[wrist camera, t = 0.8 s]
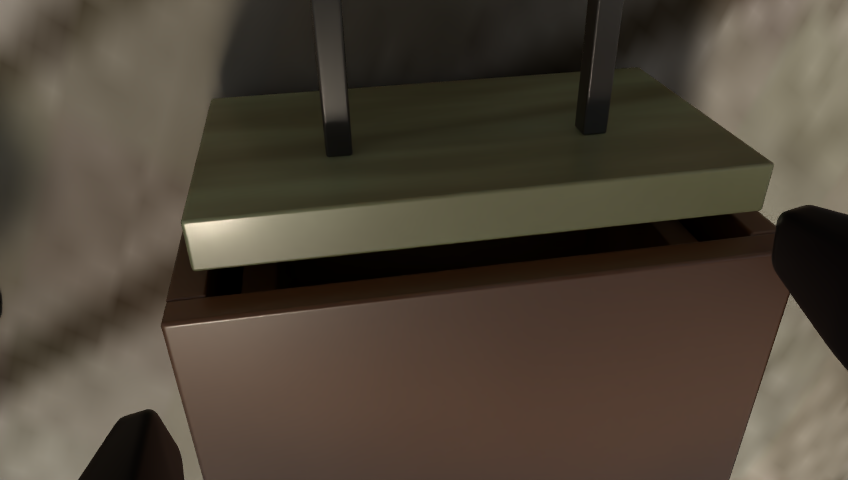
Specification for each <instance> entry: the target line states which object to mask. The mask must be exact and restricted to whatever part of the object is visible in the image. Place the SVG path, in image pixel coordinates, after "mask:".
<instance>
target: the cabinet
mask: <svg viewBox="0 0 848 480" xmlns="http://www.w3.org/2000/svg"><path fill="white" fill-rule="evenodd" d="M677 220H678V221H679V222H680V223H681V224H682V225H683V226H684V227H685V228H686V229H687V230H688V231H689V232H690V233H691V234H692V235H693V236H694V237H695V238H696V239H697V241H698V242H693V243H684V244H675V245H667V246H658V247H649V248H640V249H631V250H622V251H613V252H604V253H596V254H587V255H578V256H569V257H560V258H551V259H542V260H533V261H525V262H516V263H507V264H498V265H489V266H480V267H471V268H462V269H453V270H445V271H436V272H427V273H418V274H409V275H400V276H391V277H382V278H374V279H365V280H356V281H347V282H338V283H329V284H320V285H311V286H303V287H294V288H285V289H276V290H267V291H258V292H249V293H241V286H242V274H243V266H239V267H230V268H221V269H211V270H202V271H193V270H192V268H191V265H190V260H189V256H188V252H187V247H186V243H185V239H184V235H183V232H182V236H181V240H180V244H179V249H178V253H177V257H176V261H175V265H174V270H173V274H172V278H171V282H170V286H169V291H168V295H167V299H166V302H167V303H166V306H165V310H164V315H163V319H162V323H161V328H162V331H163V335H164V339H165V342H166V346H167V349H168V353H169V357H170V360H171V364H172V368H173V371H174V375H175V378H176V382H177V386H178V389H179V393H180V396H181V400H182V404H183V407H184V411H185V414H186V418H187V422H188V425H189V429H190V433H191V436H192V440H193V443H194V447H195V451H196V454H197V458H198V461H199V465H200V469H201V472H202V476H203V480H729V479H730V476H731V473H732V469H733V466H734V463H735V460H736V457H737V454H738V451H739V448H740V445H741V442H742V439H743V436H744V433H745V430H746V426H747V423H748V420H749V417H750V414H751V411H752V408H753V405H754V402H755V399H756V396H757V393H758V390H759V387H760V384H761V380H762V377H763V374H764V371H765V368H766V365H767V362H768V359H769V356H770V353H771V350H772V347H773V344H774V341H775V337H776V334H777V331H778V328H779V325H780V322H781V319H782V316H783V313H784V310H785V307H786V304H787V301H788V298H789V295H790V292H789V291H788V289H787V288H786V287H785V285H784V284H783V282H782V281H781V280H780V278H779V277H778V275H777V274H776V272H775V270H774V268H773V264H772V258H771V257H772V249H773V243H774V237H775V231H776V226H775V225H774V224H773V223H772V222H770V221H769V220H768V219H767V218H766V217H764V216H763V215H762V214H761V213H760V212H758V211H752V212H742V213H733V214H724V215H714V216H705V217H696V218H686V219H677Z"/></svg>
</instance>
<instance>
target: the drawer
mask: <svg viewBox="0 0 848 480" xmlns="http://www.w3.org/2000/svg"><path fill="white" fill-rule="evenodd" d="M310 2H311V12H312V22H313V32H314V42H315V52H316V62H317V72H318V82H319V91H311V92H298V93H284V94H271V95H257V96H244V97H230V98H217V99H212V100H211V103H210V107H209V111H208V115H207V119H206V123H205V127H204V131H203V135H202V139H201V143H200V147H199V151H198V155H197V159H196V163H195V167H194V171H193V175H192V179H191V183H190V188H189V192H188V196H187V200H186V204H185V208H184V212H183V216H182V220H181V226H182V230H183V235H184V239H185V243H186V247H187V252H188V256H189V260H190V265H191V268H192V270H193V271H202V270H211V269H221V268H230V267H239V266H243V274H242V286H241V293H249V292H258V291H267V290H276V289H285V288H294V287H303V286H311V285H320V284H329V283H338V282H347V281H356V280H365V279H374V278H382V277H391V276H400V275H409V274H418V273H427V272H436V271H445V270H453V269H462V268H471V267H480V266H489V265H498V264H507V263H516V262H525V261H533V260H542V259H551V258H560V257H569V256H578V255H587V254H596V253H604V252H613V251H622V250H631V249H640V248H649V247H658V246H667V245H675V244H684V243H693V242H698V241H697V239H696V238H695V237H694V236H693V235H692V234H691V233H690V232H689V231H688V230H687V229H686V228H685V227H684V226H683V225H682V224H681V223H680V222H679V221H678V220H677V219H686V218H696V217H705V216H714V215H724V214H733V213H742V212H752V211H759V210H761V209H762V207H763V203H764V199H765V196H766V192H767V188H768V185H769V181H770V178H771V174H772V170H773V167H774V164H773V162H771V161H770V160H768V159H767V158H765V157H764V156H763V155H761V154H760V153H758V152H757V151H756V150H754V149H753V148H751V147H750V146H749V145H747V144H746V143H744V142H743V141H742V140H740V139H739V138H737V137H736V136H734V135H733V134H732V133H730V132H729V131H727V130H726V129H725V128H723V127H722V126H720V125H719V124H718V123H716V122H715V121H713V120H712V119H711V118H709V117H708V116H706V115H705V114H703V113H702V112H701V111H699V110H698V109H696V108H695V107H694V106H692V105H691V104H689V103H688V102H687V101H685V100H684V99H682V98H681V97H679V96H678V95H677V94H675V93H674V92H672V91H671V90H670V89H668V88H667V87H665V86H664V85H663V84H661V83H660V82H658V81H657V80H656V79H654V78H653V77H651V76H650V75H648V74H647V73H646V72H644V71H643V70H641V69H640V68H638V67H635V68H622V69H615V63H616V56H617V48H618V40H619V33H620V25H621V18H622V10H623V3H624V0H588V6H587V15H586V25H585V34H584V43H583V53H582V62H581V72H568V73H554V74H541V75H527V76H514V77H500V78H487V79H473V80H460V81H446V82H433V83H419V84H406V85H392V86H379V87H365V88H352V89H348V83H347V70H346V57H345V44H344V31H343V18H342V5H341V0H310Z"/></svg>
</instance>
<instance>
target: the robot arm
mask: <svg viewBox="0 0 848 480" xmlns="http://www.w3.org/2000/svg"><path fill="white" fill-rule="evenodd" d="M771 258H772V264H773V268H774V270H775V272H776V274H777V275H778V277H779V278H780V280H781V281H782V282H783V284H784V285H785V287H786V288H787V289H788V291H789V292H790V294H791V295H792V296H793V298H794V299H795V301H796V302H797V304H798V305H799V306H800V308H801V309H802V311H803V312H804V313H805V315H806V316H807V318H808V319H809V320H810V322H811V323H812V325H813V326H814V328H815V329H816V330H817V332H818V333H819V335H820V336H821V337H822V339H823V340H824V342H825V343H826V344H827V346H828V347H829V348H830V350H831V351H832V352H833V353H834V355H835V356H836V357H837V358H838V360H839V361H840V362H841V363H842V364H843V366H844V367H845V368H846V369H847V370H848V215H847V214H843V213H839V212H836V211H832V210H828V209H825V208H821V207H817V206H813V205H805V206H801V207H798V208H794V209H791V210H788V211H785V212H783V213H782V214H781V215H780V216H779V218H778V220H777V225H776V231H775V237H774V243H773V249H772V257H771ZM78 480H184V473H183V464H182V458H181V454H180V451H179V449H178V446H177V444H176V443H175V441H174V440H173V438H172V436H171V435H170V433H169V432H168V430H167V428H166V427H165V425H164V424H163V422H162V420H161V419H160V417H159V416H158V414H157V413H156V412H155V411H153V410H151V409H146V410H143V411H140V412H136V413H133V414H130V415H127V416H124V417H122V418H120V419H119V420H118V421H117V423H116V424H115V425H114V427H113V428H112V430H111V431H110V433H109V434H108V436H107V437H106V439H105V440H104V442H103V443H102V445H101V446H100V448H99V449H98V451H97V452H96V454H95V455H94V457H93V458H92V460H91V461H90V463H89V464H88V466H87V467H86V469H85V470H84V472H83V473H82V475H81V476H80V478H79V479H78Z"/></svg>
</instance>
